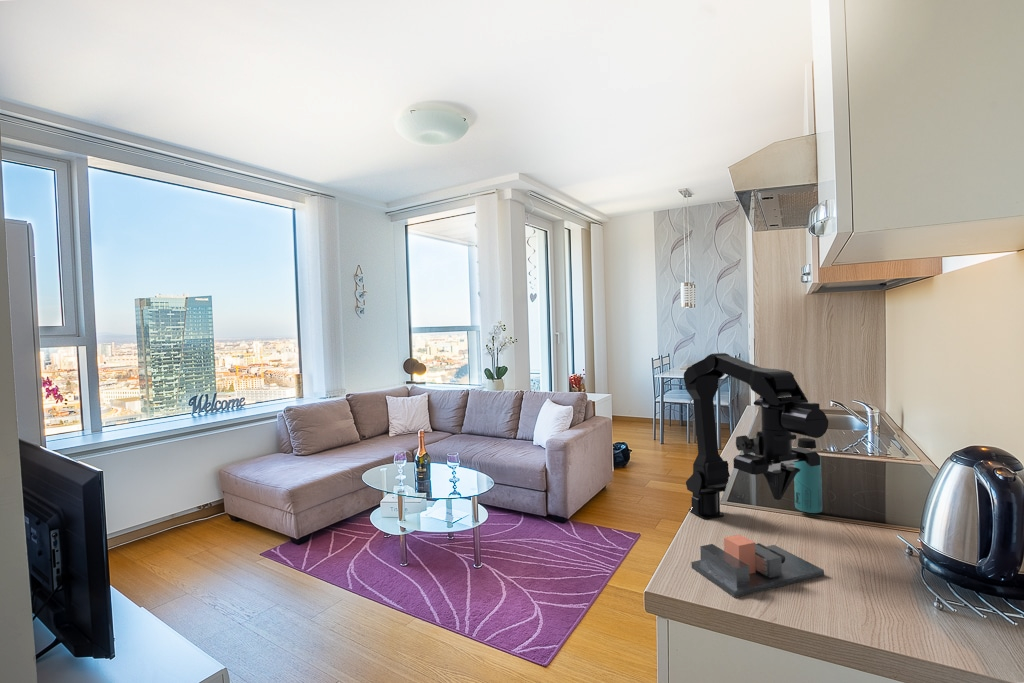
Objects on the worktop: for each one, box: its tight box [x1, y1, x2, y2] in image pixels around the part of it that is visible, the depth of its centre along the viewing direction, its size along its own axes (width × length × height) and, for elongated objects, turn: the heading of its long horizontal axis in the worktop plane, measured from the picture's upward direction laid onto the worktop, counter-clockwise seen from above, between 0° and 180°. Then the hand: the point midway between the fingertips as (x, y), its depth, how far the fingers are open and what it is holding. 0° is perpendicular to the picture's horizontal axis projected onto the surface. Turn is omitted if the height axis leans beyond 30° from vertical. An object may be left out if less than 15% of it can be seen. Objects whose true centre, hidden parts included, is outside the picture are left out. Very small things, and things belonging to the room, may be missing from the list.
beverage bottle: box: [793, 437, 824, 514], centre depth 126 cm, size 6×7×20 cm
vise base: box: [690, 543, 825, 599], centre depth 97 cm, size 22×12×5 cm, turn 108°
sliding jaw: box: [755, 542, 785, 578], centre depth 98 cm, size 6×10×4 cm, turn 18°
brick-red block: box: [723, 534, 756, 574], centre depth 96 cm, size 4×4×6 cm
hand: (777, 499), depth 105 cm, fingers closed
